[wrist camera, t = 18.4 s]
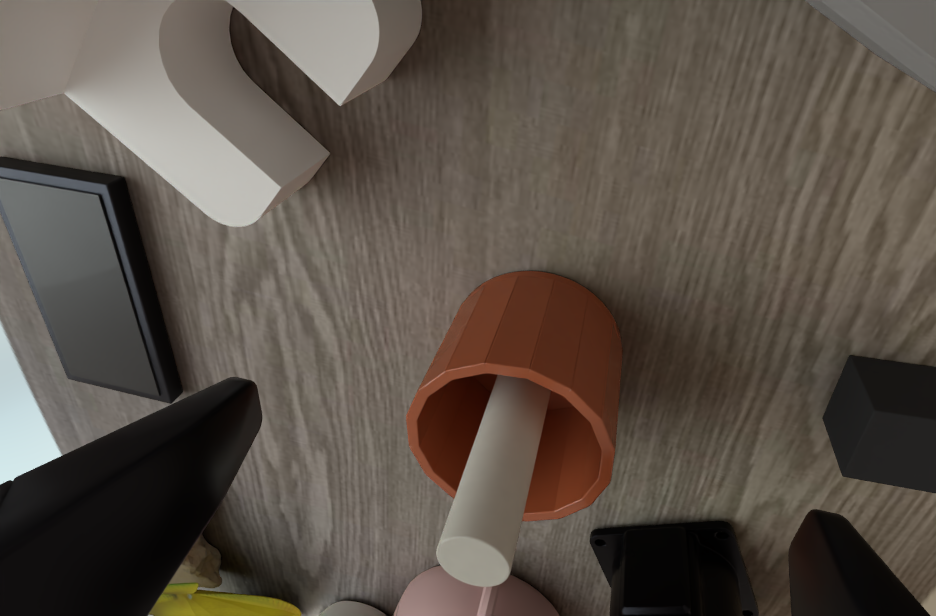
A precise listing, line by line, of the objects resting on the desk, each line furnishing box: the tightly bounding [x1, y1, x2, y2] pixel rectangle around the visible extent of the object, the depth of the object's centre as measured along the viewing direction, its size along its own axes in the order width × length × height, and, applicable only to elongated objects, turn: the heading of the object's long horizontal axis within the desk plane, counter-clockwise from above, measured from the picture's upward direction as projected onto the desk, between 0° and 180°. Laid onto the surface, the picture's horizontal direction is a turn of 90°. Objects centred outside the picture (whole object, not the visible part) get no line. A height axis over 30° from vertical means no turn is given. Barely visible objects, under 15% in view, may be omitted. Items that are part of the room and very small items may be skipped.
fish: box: [149, 583, 302, 616], centre depth 38 cm, size 3×16×10 cm
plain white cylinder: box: [437, 375, 551, 587], centre depth 20 cm, size 2×2×10 cm
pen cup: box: [406, 271, 623, 521], centre depth 22 cm, size 7×7×6 cm
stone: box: [169, 534, 222, 588], centre depth 38 cm, size 13×4×10 cm
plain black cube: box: [823, 355, 936, 493], centre depth 20 cm, size 3×3×3 cm
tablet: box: [0, 157, 183, 404], centre depth 29 cm, size 12×6×1 cm, turn 177°
